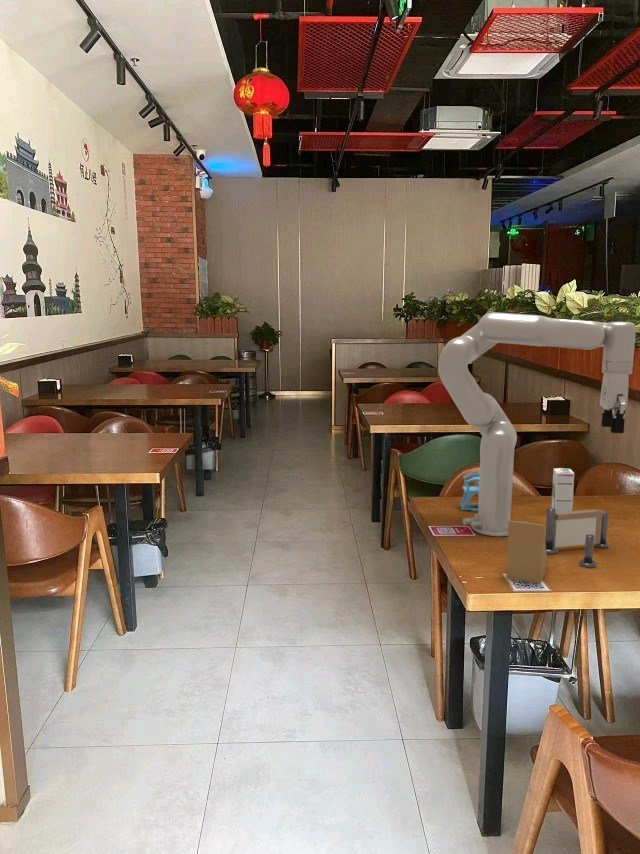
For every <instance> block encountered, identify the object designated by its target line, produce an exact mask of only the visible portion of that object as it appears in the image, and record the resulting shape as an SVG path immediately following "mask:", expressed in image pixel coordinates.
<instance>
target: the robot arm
mask: <svg viewBox="0 0 640 854" xmlns="http://www.w3.org/2000/svg"><path fill="white" fill-rule="evenodd" d="M636 331H637V327H636V325H635V323H634V322H630V321H610V322H603V321H595V320H594V321H593V320H577V319H564V318H552V317H548V316H546V315H540V314H539V315H537V314H525V313H523V314H522V313H512V312H511V313H509V312H496V311H495V312H493V311H492V312H491V311H490V312H488V313H485V314H484V315H483V316H481V318H480V319H479V321H478V322H477V323H476V324H475V325H474V326H472V327H471V328H470V329H468V330H466V332H464V333H463V334H461V336H458V337H457V336H456V337H455V338H452V339H451V340H449V341H448V342H447V343H446V344H445V345H444V347H443V349H442V350H441V352H440V354H439V358H438V362H437V369H438V376H439V378H440V381H441V383H442V385H443V387H444V388H445V390H446V391H447V392H448V394H449V397H451V400H453V402H454V404H455V406H456V407H457V409H458V410H459V412H460V413H461V416H462V417H463V419H464V421H465V422H466V423H467V424H468V425H469V426H472V427H474V428H476V429H477V430H478V432H479V433H480V435H481V439H480V446H479V459H480V460H479V474H480V483H479V494H478V506H477V508H478V512H477V513H474V516H472V517H471V518H470V517H467V518H465V517H464V518H462V525H463V526H466V525H470V526H471V529H472V530H473V531H474V532H476V533H479V534H481V535H483V536H484V535H485V536H491V537H508V522H509V521H511V514H512V513H511V512H512V501H513V500H512V496H513V481H514V480H513V479H514V461H515V447H516V445H517V440H518V434H517V431H516V429H515V428H514V425H513V423H511V421H510V419H509V417H508V416H507V415H506V413H505V411H504V410H503V409H502V407H501V406H500V403H498V401H497V400H496V398H495V397H494V396H492V394H489V393H487V392H483V390H482V389H481V387H480V386H479V384H478V382H477V381H476V379H475V378H474V377H473V375H472V373H471V372H470V371H469V368H468V367H469V366H468V365H469V364H470V363H473V362H474V361H476V360H477V359H478V358H480V357H481V356H482V355H483V354H485V353H486V352H487V351H488V350H490V349H491V348H494V347H495V346H496V345H497V344H511V345H523V346H534V347H535V346H536V347H553V348H566V349H577V350H589V351H590V350H591V351H592V350H594V349H598V348H601V347H602V348H603V352H602V353H603V354H602V364H601V374H603V376H602V381H601V382H602V383H601V389H600V398H599V406H600V407H601V408H602V413H601V414H602V415H601V416H602V417H601V427H603V428H610V433H611V434H624V432H625V420H626V410H627V407H628V399H629V382H630V381H629V375H633V366H634V355H635V342H636V334H637V333H636Z"/></svg>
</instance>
